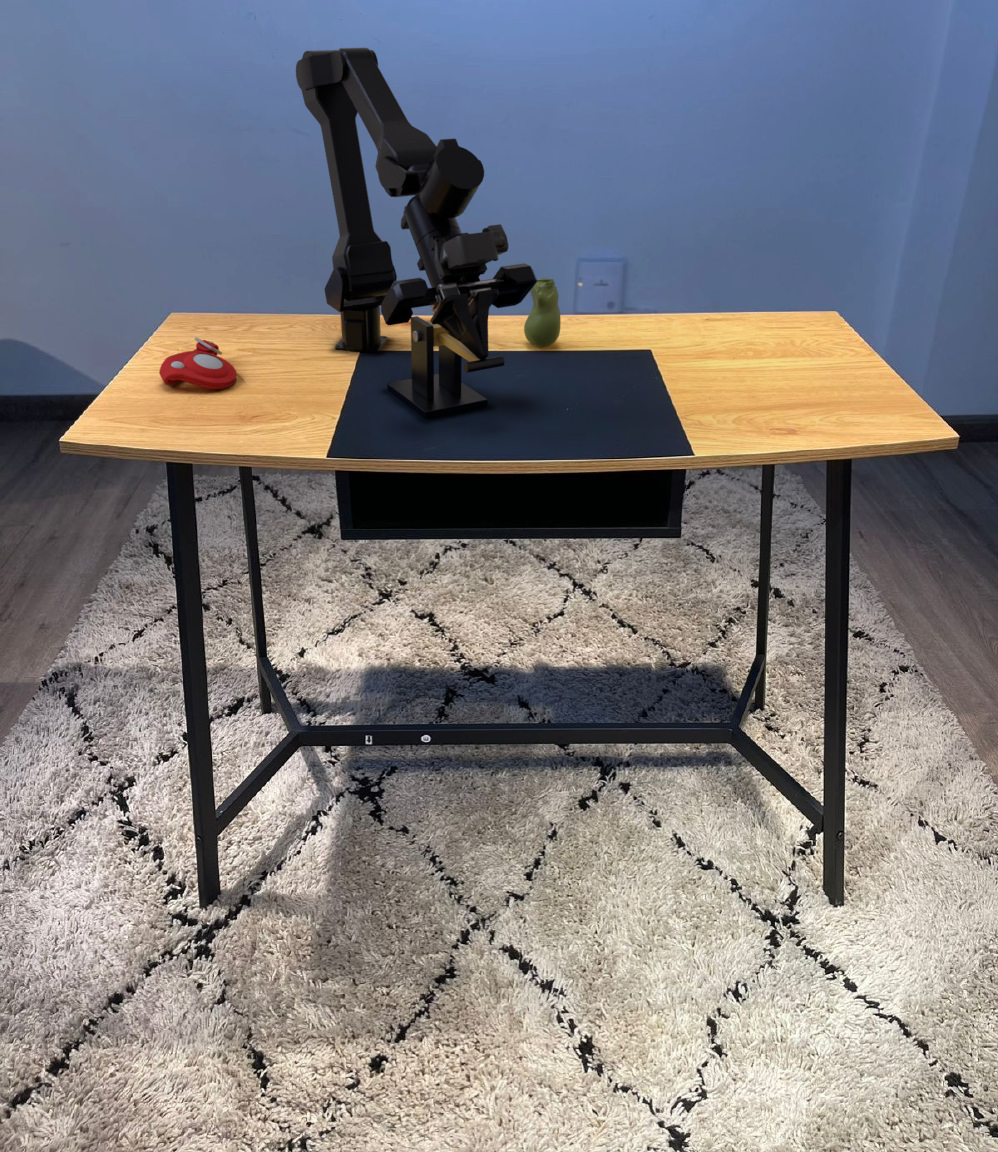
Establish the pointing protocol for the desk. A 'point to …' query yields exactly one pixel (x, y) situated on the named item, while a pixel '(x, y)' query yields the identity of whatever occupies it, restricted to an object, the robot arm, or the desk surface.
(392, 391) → the latch bracket
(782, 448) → the desk surface
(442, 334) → the latch lever
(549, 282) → the green vase
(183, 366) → the tracker holder
